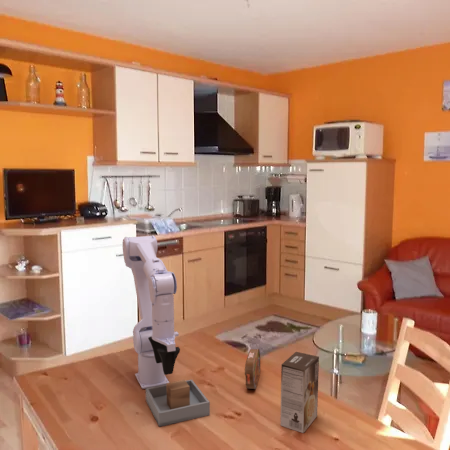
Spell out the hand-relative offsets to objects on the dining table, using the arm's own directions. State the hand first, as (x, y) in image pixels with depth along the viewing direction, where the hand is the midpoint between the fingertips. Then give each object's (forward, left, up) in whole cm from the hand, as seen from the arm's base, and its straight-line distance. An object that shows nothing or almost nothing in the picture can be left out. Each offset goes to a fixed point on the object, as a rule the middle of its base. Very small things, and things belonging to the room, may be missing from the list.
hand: (164, 367), depth 119 cm
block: (+5, +2, -9) cm, 10 cm away
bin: (+5, +2, -9) cm, 11 cm away
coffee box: (+23, +28, -10) cm, 37 cm away
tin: (0, +27, -10) cm, 29 cm away
